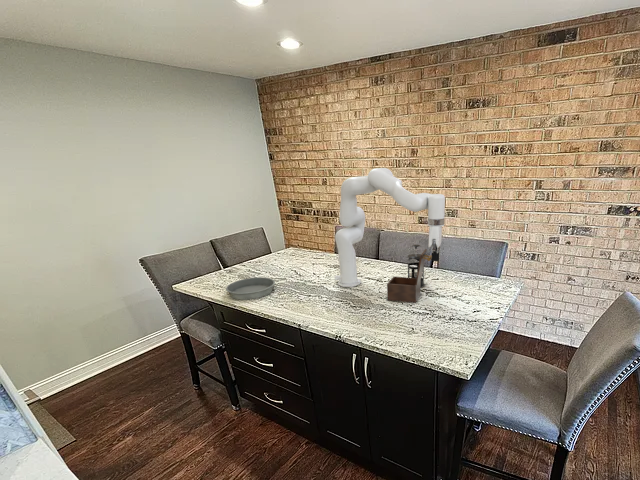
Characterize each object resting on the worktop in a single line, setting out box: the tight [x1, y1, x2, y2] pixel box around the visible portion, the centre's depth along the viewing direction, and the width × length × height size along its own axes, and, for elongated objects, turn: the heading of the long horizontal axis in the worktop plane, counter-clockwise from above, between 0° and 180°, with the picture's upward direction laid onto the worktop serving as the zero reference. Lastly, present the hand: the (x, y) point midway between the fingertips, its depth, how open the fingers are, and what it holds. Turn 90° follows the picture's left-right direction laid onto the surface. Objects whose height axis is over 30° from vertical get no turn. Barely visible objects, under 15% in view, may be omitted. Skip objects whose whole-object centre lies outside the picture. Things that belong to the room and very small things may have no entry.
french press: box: [407, 244, 425, 288], centre depth 185 cm, size 12×9×23 cm
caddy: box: [386, 276, 422, 304], centre depth 172 cm, size 15×12×9 cm
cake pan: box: [225, 276, 276, 301], centre depth 183 cm, size 25×25×4 cm
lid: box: [415, 248, 432, 285], centre depth 164 cm, size 15×12×5 cm
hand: (435, 260), depth 162 cm, fingers closed
